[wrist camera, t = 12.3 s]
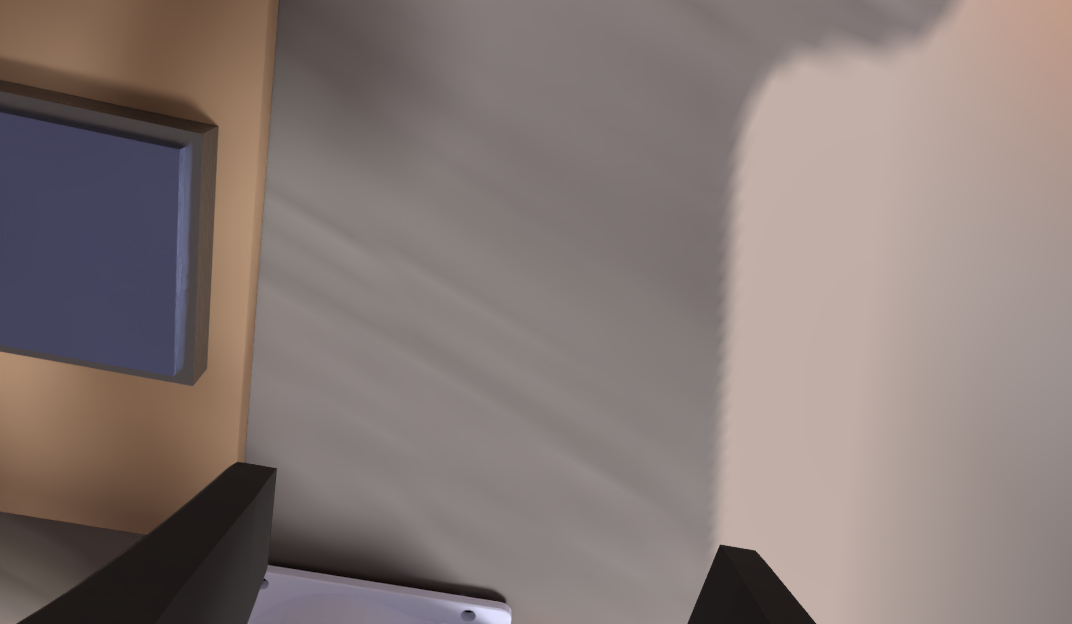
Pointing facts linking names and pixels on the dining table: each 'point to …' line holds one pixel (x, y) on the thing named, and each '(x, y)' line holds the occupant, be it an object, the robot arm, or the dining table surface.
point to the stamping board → (224, 388)
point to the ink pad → (105, 234)
